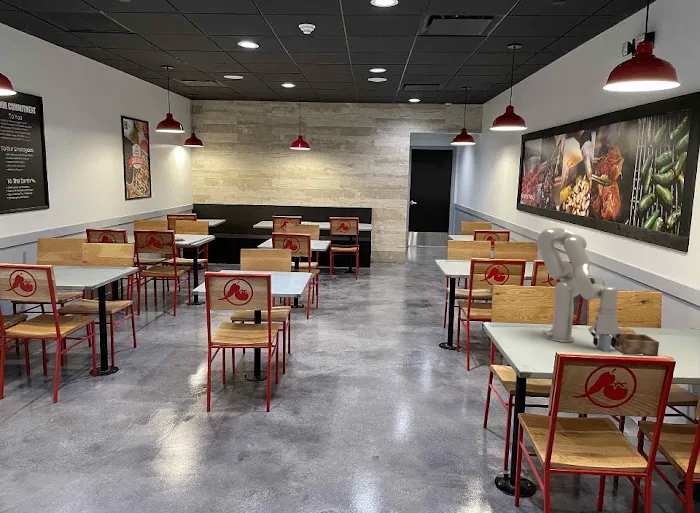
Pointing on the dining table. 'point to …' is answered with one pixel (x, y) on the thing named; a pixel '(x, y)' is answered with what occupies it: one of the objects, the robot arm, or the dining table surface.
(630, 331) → the croissant
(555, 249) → the robot arm
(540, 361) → the dining table surface
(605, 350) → the blue-gray flat block
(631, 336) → the wooden box
